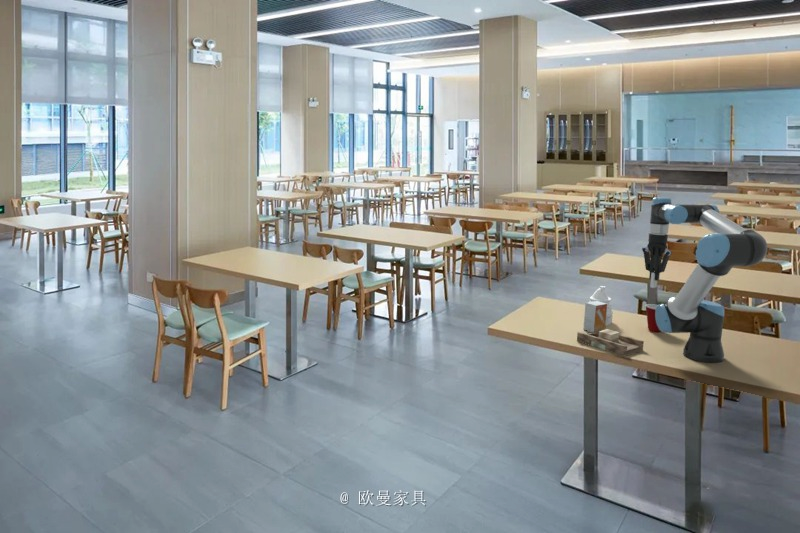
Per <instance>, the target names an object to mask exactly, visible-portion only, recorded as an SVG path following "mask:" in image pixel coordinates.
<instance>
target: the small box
mask: <svg viewBox="0 0 800 533" xmlns="http://www.w3.org/2000/svg"><path fill="white" fill-rule="evenodd" d="M606 312H607V304H606V303H603V302H599V301H594V302H589V301H588V302H585V305H584V315H583V316H584V317H583V318H584V320H583V331H586V330H587V332H589V331H590V332H589V333H593V332H594V328H599V329H603V330H606V325H605V324H606Z"/></svg>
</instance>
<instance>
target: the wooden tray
mask: <svg viewBox="0 0 800 533" xmlns="http://www.w3.org/2000/svg"><path fill="white" fill-rule="evenodd" d="M602 330H603V329H599V328H594V332H589V333H585V332H581V331H577V336H576V341H577V342H579V343H582V344H585V343H586V344H585V345H588V344H589V346H591V345H592V347H593V348H598V349H601V350H604V351H608V352H611V353H614V354H617V355H620V356H624V357H626V356H629V355H632V354H637V353H639V352H642V351H644V342H645V341H644V340H641V339H638V338H634V337H630V336H627V335H623V334H620V333H619V341H618V342H612V341H608V340H605V339H602V338H599V331H602Z"/></svg>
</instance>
